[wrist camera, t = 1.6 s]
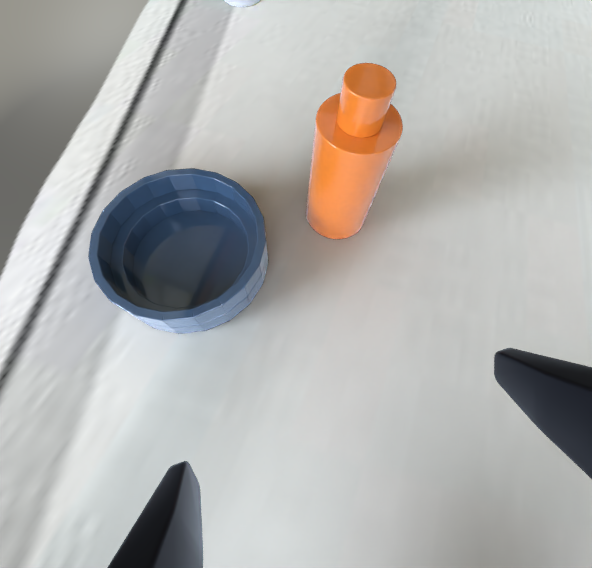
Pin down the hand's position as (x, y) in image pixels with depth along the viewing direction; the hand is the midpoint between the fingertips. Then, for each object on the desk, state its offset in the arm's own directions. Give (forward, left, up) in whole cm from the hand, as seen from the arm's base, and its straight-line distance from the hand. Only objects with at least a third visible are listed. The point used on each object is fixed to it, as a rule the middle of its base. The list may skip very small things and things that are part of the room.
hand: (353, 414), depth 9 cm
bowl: (+11, -9, -14) cm, 20 cm away
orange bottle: (+1, -16, -14) cm, 21 cm away
